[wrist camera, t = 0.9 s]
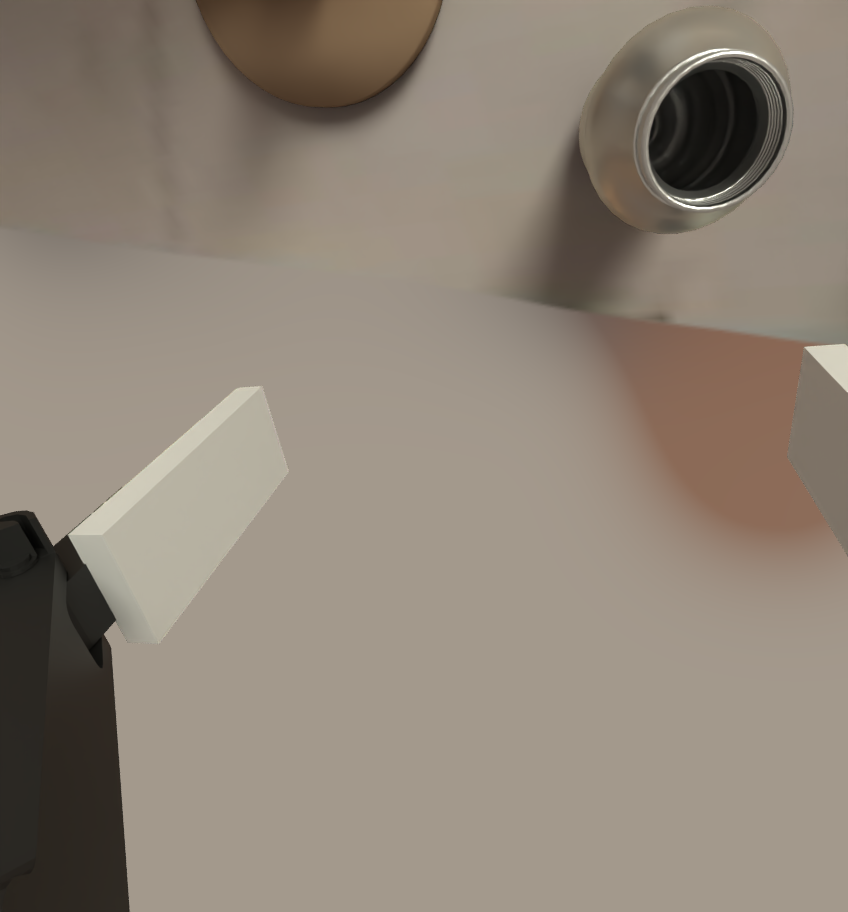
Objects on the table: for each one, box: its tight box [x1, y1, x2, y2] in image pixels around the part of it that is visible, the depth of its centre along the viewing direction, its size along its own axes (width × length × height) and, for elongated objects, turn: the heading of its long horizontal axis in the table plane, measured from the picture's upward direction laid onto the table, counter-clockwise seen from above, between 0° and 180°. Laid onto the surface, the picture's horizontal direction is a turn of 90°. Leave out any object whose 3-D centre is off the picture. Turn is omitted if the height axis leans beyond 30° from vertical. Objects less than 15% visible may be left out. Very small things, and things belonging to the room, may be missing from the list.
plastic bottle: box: [579, 6, 793, 234], centre depth 24 cm, size 6×7×20 cm
